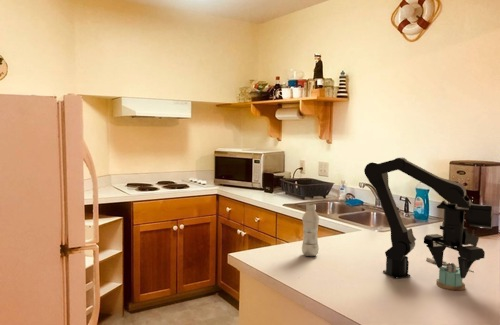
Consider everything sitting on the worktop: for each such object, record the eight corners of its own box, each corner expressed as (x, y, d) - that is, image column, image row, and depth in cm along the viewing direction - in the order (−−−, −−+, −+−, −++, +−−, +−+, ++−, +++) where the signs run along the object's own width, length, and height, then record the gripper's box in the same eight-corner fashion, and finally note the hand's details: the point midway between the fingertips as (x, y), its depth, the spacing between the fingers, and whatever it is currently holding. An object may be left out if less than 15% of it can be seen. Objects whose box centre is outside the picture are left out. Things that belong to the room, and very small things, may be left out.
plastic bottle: (321, 255, 153) (323, 204, 151) (312, 259, 148) (313, 206, 146) (308, 252, 157) (309, 202, 156) (298, 255, 152) (299, 204, 151)
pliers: (452, 271, 133) (419, 258, 147) (452, 275, 133) (419, 262, 147) (474, 268, 136) (439, 255, 150) (474, 272, 136) (439, 259, 150)
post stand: (450, 291, 118) (451, 268, 117) (430, 282, 126) (431, 260, 125) (471, 289, 120) (472, 265, 120) (450, 279, 128) (451, 258, 127)
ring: (450, 287, 119) (450, 274, 119) (434, 279, 125) (435, 267, 125) (466, 285, 121) (467, 272, 120) (450, 278, 127) (451, 265, 127)
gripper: (500, 229, 115) (497, 281, 116) (450, 216, 133) (448, 261, 134) (470, 231, 112) (467, 284, 113) (423, 218, 130) (421, 264, 131)
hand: (451, 272), depth 123 cm, fingers open, 9 cm apart
